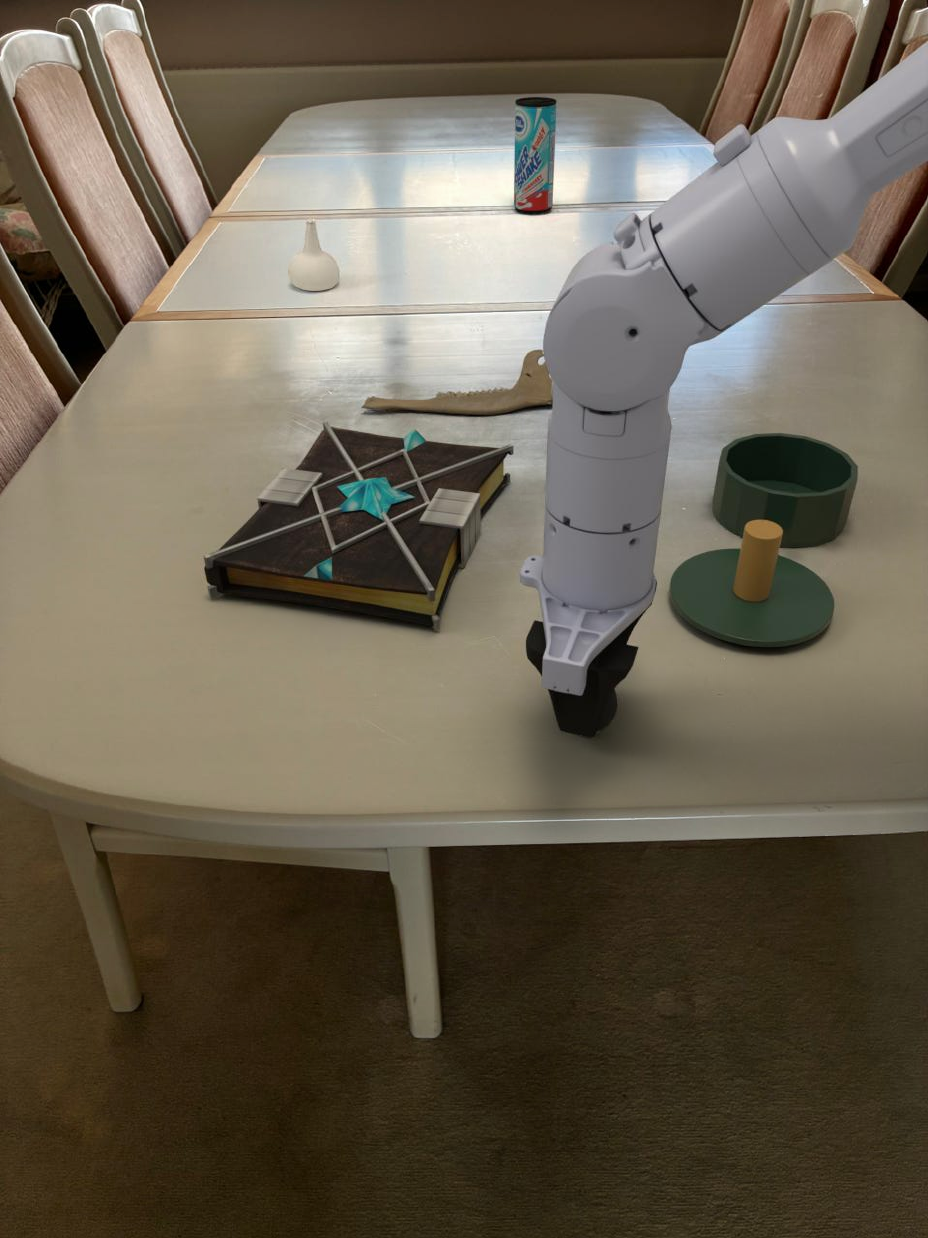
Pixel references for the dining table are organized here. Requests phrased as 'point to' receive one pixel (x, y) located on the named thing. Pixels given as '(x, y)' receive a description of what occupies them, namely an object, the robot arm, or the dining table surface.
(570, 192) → the dining table surface
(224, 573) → the book
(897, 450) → the dining table surface
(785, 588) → the lid
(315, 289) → the garlic bulb
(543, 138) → the beverage can
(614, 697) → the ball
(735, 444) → the tin
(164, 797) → the dining table surface
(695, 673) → the dining table surface
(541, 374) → the jawbone
